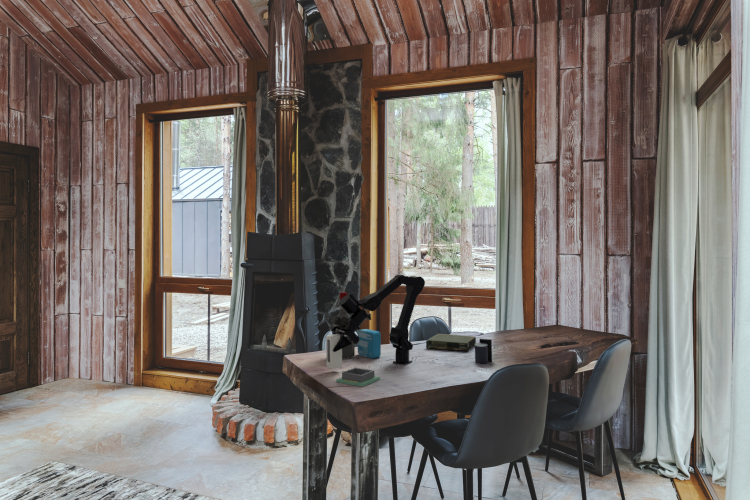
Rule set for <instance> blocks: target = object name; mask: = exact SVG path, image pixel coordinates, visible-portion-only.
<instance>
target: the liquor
mask: <svg viewBox="0 0 750 500" xmlns="http://www.w3.org/2000/svg"><path fill="white" fill-rule="evenodd" d="M347 295H348V292H347V291H344V292H342V291H341V292H339V301H340V300H341V299H342V298H343V297H345V296H347ZM336 316H337V317H341V316H344V317H346V318H349V317H350V316H351V315H350V314H347V313H346V312H345V311H344V310H343V308H342V307H341V306H340V305H339V312H338V314H337V315H336ZM332 325H336V324H334V323H331V326H332ZM336 326H339V325H336ZM351 343H352V345H349V346H346V347H344V348H342V360H344V359H345V360H346V359H352V358H354V357H355V354H356V351H355V348H356V347H355V345H356V344H354V343H353V341H352V342H351Z"/></svg>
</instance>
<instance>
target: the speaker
mask: <svg viewBox="0 0 750 500" xmlns="http://www.w3.org/2000/svg"><path fill="white" fill-rule="evenodd" d="M492 341H493V340H492V339H491V338H479V341H478V342H476V343H475V344H474V362H475V363H476V364H480V365H486V364H488V363H490V362H491V363H492V362H493V345H492Z"/></svg>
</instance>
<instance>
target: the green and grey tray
mask: <svg viewBox="0 0 750 500" xmlns="http://www.w3.org/2000/svg"><path fill="white" fill-rule="evenodd" d="M375 372H376V371H375V370H373V369H366V368H360V367H353V368H350V369H348V370H345V371H343V372H341V377H339V378H336V383H341V384H345V385H351V386H356V387H357V386H358V387H365V386H368V385H370V384H372V383H375V382H377V381H379V380H381V376H378V375H376V373H375Z"/></svg>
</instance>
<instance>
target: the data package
mask: <svg viewBox="0 0 750 500" xmlns="http://www.w3.org/2000/svg"><path fill="white" fill-rule="evenodd" d="M381 335H382V334H381V332H380V331H378V330H373V329H369V328H365V329H364V328H363V329H359V330H357V336H358V337H359V338H360V341H359V342H358V344H357V355H359V356H361V357H364V358H365V357H366V358H368V357H369V358H368V359H375V358H376V359H377V358H380V357H381V354H382V353H381V352H382V351H381V350H382V345H381V344H382V343H381V341H382V339H381V338H382V336H381Z"/></svg>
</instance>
